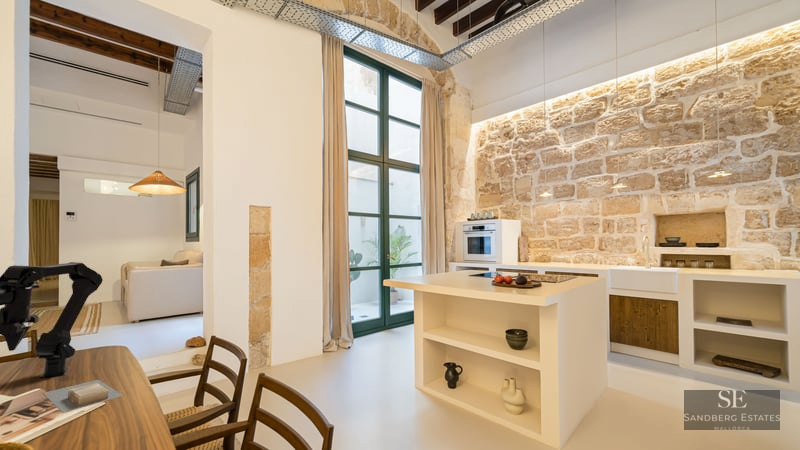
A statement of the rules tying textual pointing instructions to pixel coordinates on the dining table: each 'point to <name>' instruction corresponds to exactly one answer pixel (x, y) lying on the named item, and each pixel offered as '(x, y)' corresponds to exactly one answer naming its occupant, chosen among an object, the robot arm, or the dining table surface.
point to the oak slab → (88, 394)
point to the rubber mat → (65, 404)
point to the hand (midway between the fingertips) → (11, 350)
